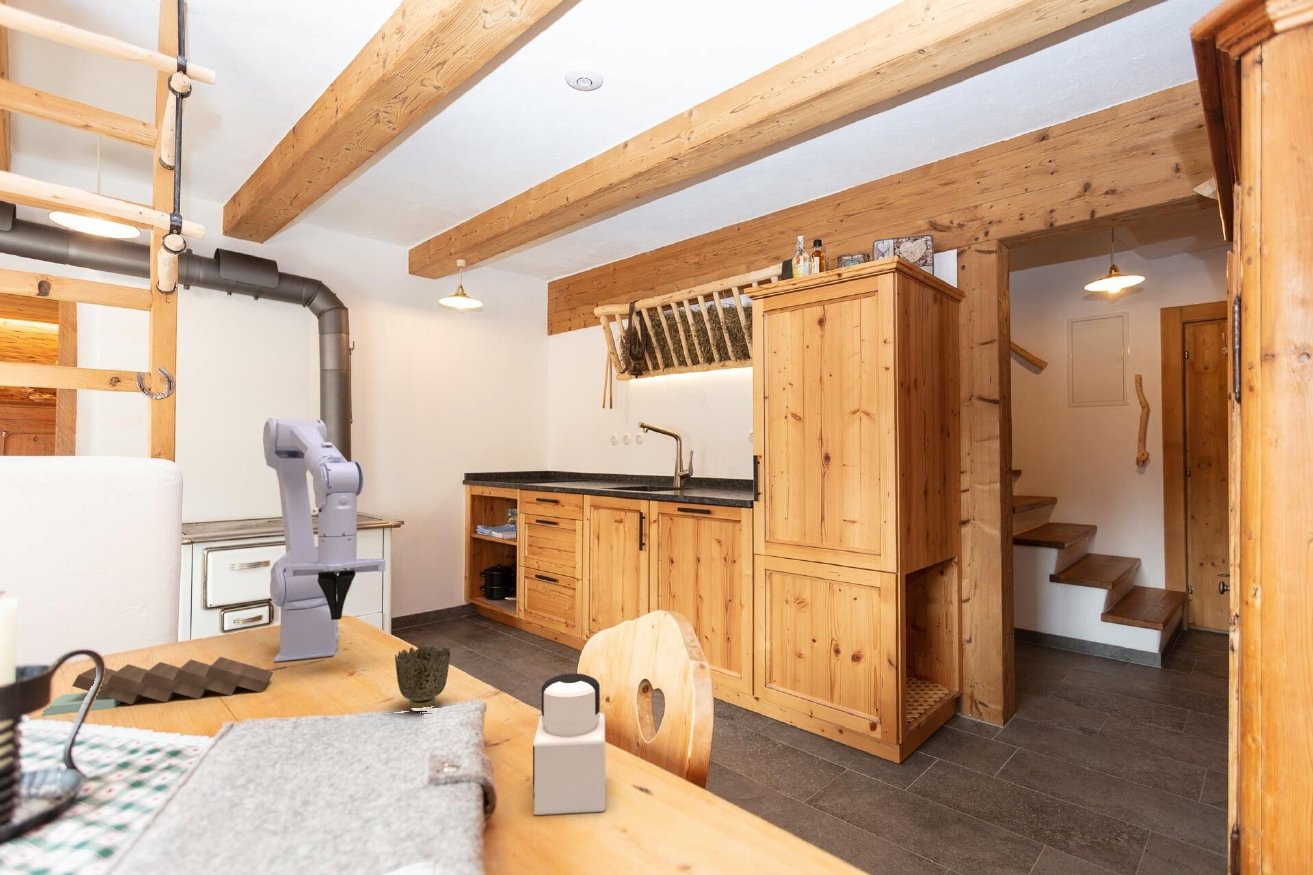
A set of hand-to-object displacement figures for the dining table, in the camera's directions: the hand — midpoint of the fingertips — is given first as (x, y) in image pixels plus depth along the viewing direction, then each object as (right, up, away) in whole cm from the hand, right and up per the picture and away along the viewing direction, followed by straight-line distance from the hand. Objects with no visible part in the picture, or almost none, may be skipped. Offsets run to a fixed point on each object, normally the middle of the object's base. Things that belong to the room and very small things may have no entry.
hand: (336, 618), depth 105 cm
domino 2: (-24, -8, -10) cm, 27 cm away
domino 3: (-20, -9, -9) cm, 23 cm away
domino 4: (-16, -9, -7) cm, 20 cm away
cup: (+19, -9, -14) cm, 26 cm away
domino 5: (-12, -9, -6) cm, 16 cm away
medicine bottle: (+44, -8, -38) cm, 58 cm away
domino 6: (-8, -9, -5) cm, 13 cm away
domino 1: (-26, -9, -11) cm, 30 cm away
